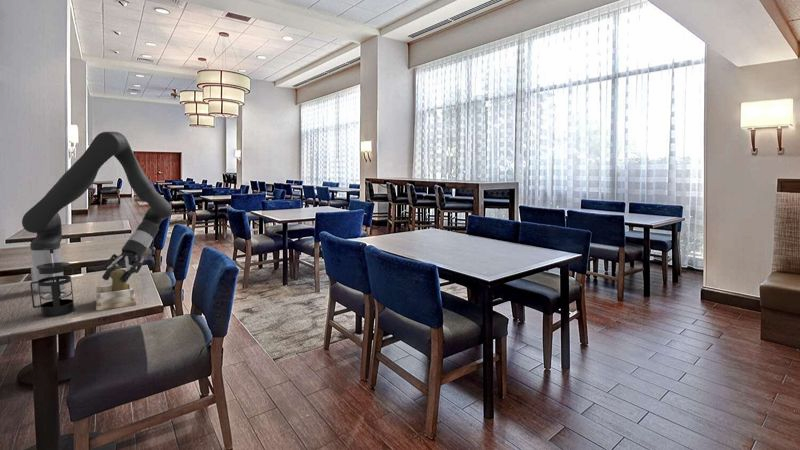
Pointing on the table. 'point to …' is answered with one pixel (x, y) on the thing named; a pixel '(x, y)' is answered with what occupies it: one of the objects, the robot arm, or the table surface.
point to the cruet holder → (114, 297)
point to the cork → (118, 280)
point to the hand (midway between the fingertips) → (113, 280)
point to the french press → (54, 289)
